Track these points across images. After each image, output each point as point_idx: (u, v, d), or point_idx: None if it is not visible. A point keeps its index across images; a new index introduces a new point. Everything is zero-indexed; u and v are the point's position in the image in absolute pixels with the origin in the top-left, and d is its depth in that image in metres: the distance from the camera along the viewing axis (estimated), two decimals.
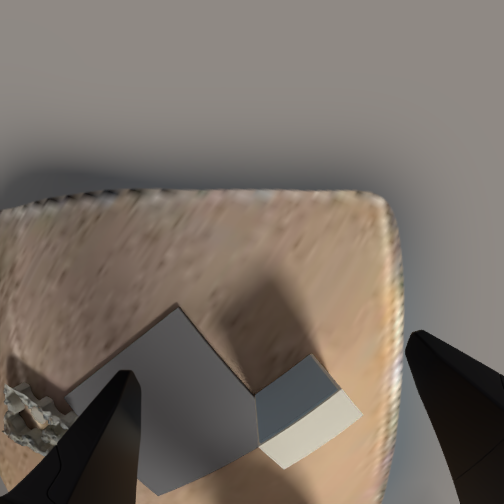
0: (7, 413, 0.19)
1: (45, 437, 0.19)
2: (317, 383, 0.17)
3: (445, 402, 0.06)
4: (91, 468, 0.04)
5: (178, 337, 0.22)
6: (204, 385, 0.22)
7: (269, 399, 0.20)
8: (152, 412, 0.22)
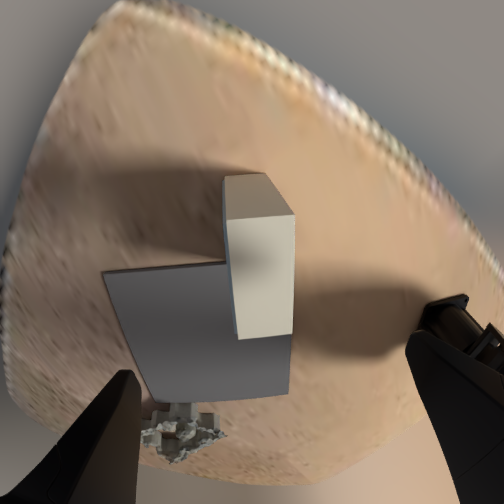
0: (157, 449, 0.29)
1: (183, 438, 0.27)
2: None
3: (445, 402, 0.06)
4: (91, 468, 0.04)
5: (130, 290, 0.21)
6: (189, 297, 0.21)
7: None
8: (194, 351, 0.24)
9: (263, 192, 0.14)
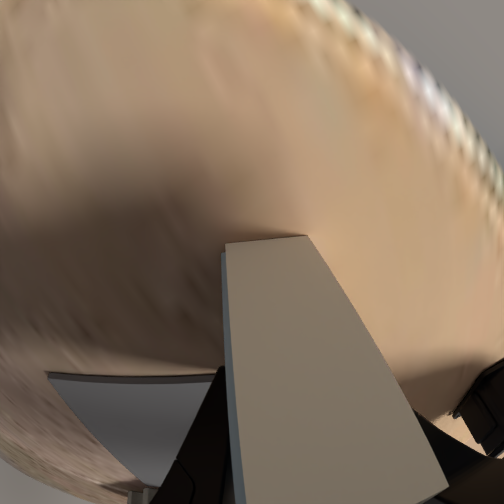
0: None
1: None
2: None
3: None
4: None
5: (88, 399, 0.12)
6: (175, 413, 0.12)
7: None
8: None
9: (332, 339, 0.05)
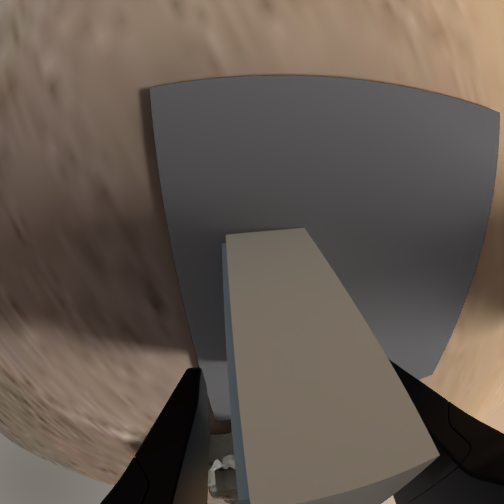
0: (211, 491, 0.17)
1: None
2: None
3: None
4: (178, 477, 0.05)
5: (217, 127, 0.08)
6: (358, 154, 0.09)
7: None
8: None
9: (326, 318, 0.06)
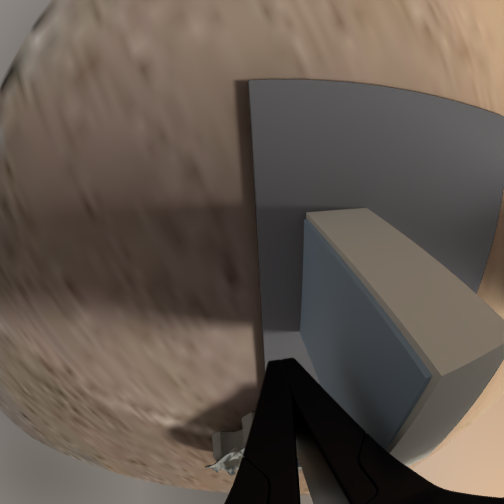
0: None
1: None
2: (369, 334, 0.06)
3: (303, 447, 0.06)
4: None
5: (305, 120, 0.09)
6: (407, 149, 0.10)
7: (320, 356, 0.10)
8: None
9: (419, 264, 0.07)
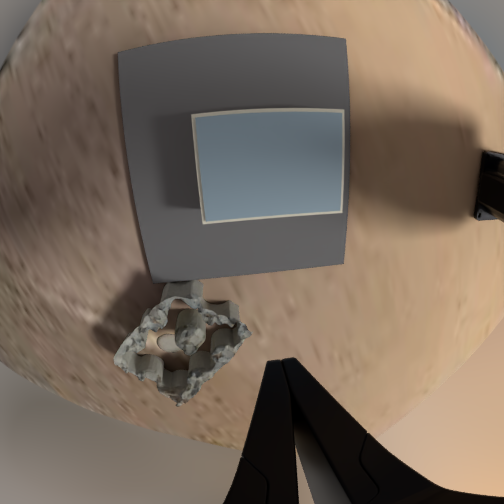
0: (158, 385, 0.23)
1: (187, 347, 0.21)
2: (303, 126, 0.14)
3: (304, 447, 0.06)
4: None
5: (148, 67, 0.14)
6: (223, 72, 0.15)
7: (254, 195, 0.15)
8: None
9: None
